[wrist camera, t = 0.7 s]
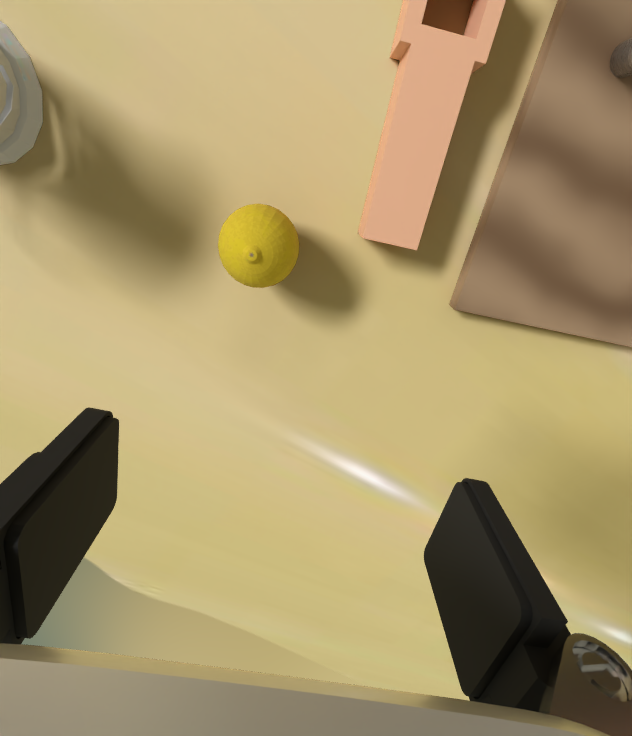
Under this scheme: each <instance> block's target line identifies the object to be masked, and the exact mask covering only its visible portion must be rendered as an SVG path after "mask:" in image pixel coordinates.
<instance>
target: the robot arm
mask: <svg viewBox="0 0 632 736" xmlns="http://www.w3.org/2000/svg"><path fill="white" fill-rule="evenodd" d="M118 441H119V420H118V419H117V418H113V414H112V413H111V412H110V411H104V410H99V409H94V408H86V409H85V410H84V411H83V412H82V413H81V414H79V415H78V416H77V417H76V418H75V419H74V420H73V421H72V422H71V423H70V424H69V425H68V426H67V427H66V428H65V429H64V430H63V431H62V432H61V433H60V434H59V435H58V436H57V437H56V438H55V439H54V440H53V441H52V442H51V443H50V444H49V445H48V446H47V447H46V448H45V449H44V450H43V451H42V452H37V453H34V454H32V455H31V456H30V457H28V458H27V459H26V460H25V461H24V462H23V463H22V464H21V465H20V466H19V467H18V468H17V469H16V470H15V471H14V472H13V473H12V474H11V475H10V476H8V477H7V478H6V479H5V480H4V481H3V482H2V483H1V484H0V736H632V670H631V669H630V667H629V666H628V664H627V663H626V662H625V661H624V660H623V659H622V658H621V657H620V656H619V655H618V654H617V653H616V652H615V651H613V650H612V649H611V648H610V647H608V646H607V645H606V644H604V643H603V642H601V641H599V640H598V639H596V638H594V637H591V636H589V635H586V634H580V633H574V634H572V635H571V634H570V632H569V630H568V629H567V627H566V623H567V622H568V621H567V619H566V617H565V616H564V614H563V612H562V611H561V609H560V607H559V605H558V604H557V602H556V600H555V598H554V597H553V595H552V593H551V592H550V590H549V588H548V586H547V585H546V583H545V581H544V579H543V578H542V576H541V574H540V572H539V571H538V569H537V567H536V566H535V564H534V562H533V560H532V559H531V557H530V555H529V553H528V552H527V550H526V548H525V547H524V545H523V543H522V541H521V540H520V538H519V536H518V534H517V533H516V531H515V529H514V528H513V526H512V524H511V522H510V521H509V519H508V517H507V515H506V514H505V512H504V510H503V509H502V507H501V505H500V503H499V502H498V500H497V498H496V496H495V495H494V493H493V491H492V490H491V488H490V486H489V485H488V483H487V482H484V481H479V480H474V479H468V478H465V479H463V480H462V482H457V483H456V485H455V486H454V488H453V490H452V492H451V495H450V497H449V499H448V501H447V503H446V505H445V507H444V509H443V512H442V514H441V516H440V518H439V520H438V522H437V524H436V526H435V528H434V531H433V533H432V535H431V537H430V539H429V541H428V543H427V545H426V548H425V551H424V562H425V565H426V569H427V572H428V576H429V579H430V583H431V586H432V589H433V593H434V596H435V600H436V603H437V607H438V610H439V614H440V617H441V620H442V624H443V627H444V631H445V634H446V638H447V641H448V645H449V648H450V651H451V655H452V658H453V662H454V665H455V669H456V672H457V676H458V679H459V682H460V686H461V689H462V691H463V693H464V694H465V695H466V696H469V699H470V701H467V700H461V699H454V698H446V697H439V696H432V695H424V694H417V693H410V692H402V691H395V690H388V689H380V688H373V687H366V686H358V685H351V684H343V683H336V682H328V681H320V680H313V679H305V678H298V677H290V676H282V675H274V674H266V673H259V672H252V671H244V670H236V669H229V668H221V667H213V666H204V665H197V664H188V663H180V662H173V661H165V660H157V659H149V658H140V657H132V656H125V655H117V654H108V653H99V652H90V651H81V650H70V649H62V648H53V647H43V646H34V645H22V644H21V643H22V641H23V640H24V638H32V637H33V636H34V635H35V634H36V633H37V631H38V630H39V628H40V627H41V625H42V623H43V622H44V620H45V618H46V616H47V615H48V614H49V612H50V610H51V609H52V607H53V606H54V604H55V602H56V601H57V599H58V597H59V596H60V594H61V593H62V591H63V589H64V588H65V586H66V584H67V583H68V581H69V580H70V578H71V576H72V575H73V573H74V572H75V570H76V568H77V567H78V565H79V564H80V562H81V560H82V559H83V557H84V556H85V554H86V552H87V551H88V549H89V548H90V546H91V544H92V543H93V541H94V539H95V538H96V536H97V535H98V533H99V531H100V530H101V528H102V527H103V525H104V523H105V522H106V520H107V518H108V517H109V515H110V514H111V512H112V510H113V508H114V506H115V503H116V499H117V476H118Z"/></svg>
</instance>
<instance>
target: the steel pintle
mask: <svg viewBox="0 0 632 736" xmlns="http://www.w3.org/2000/svg"><path fill="white" fill-rule="evenodd" d="M610 70H611V72H612V74H613V75H614V76H616V77H618V78H624V77H627V76H630V75H632V38H630V39H628V40H626V41H624V42H622V43H620V44H619V45H618V46H617V47H616V48H615V50H614V51H613V53H612V55H611V58H610Z"/></svg>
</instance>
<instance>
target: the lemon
mask: <svg viewBox="0 0 632 736" xmlns="http://www.w3.org/2000/svg"><path fill="white" fill-rule="evenodd" d="M218 248H219V255H220V258H221V261H222V264H223V266H224V267H225V269H226V270H227V272H228V273H229V274H230V275H231V276H232V277H233V278H234V279H235V280H237V281H238V282H240V283H242V284H244V285H247V286H250V287H259V288H264V287H268V286H272V285H275V284H277V283H279V282H281V281H282V280H283V279H285V278H286V277H287V276H288V275H289V274H290V272H291V271H292V269H293V268H294V266H295V264H296V261H297V258H298V255H299V240H298V235H297V232H296V230H295V228H294V225H293V224H292V222H291V221H290V220H289V218H288V217H287V216H286V215H285V214H283V213H282V212H281V211H280V210H278V209H276V208H274V207H271V206H269V205H263V204H252V205H247V206H244V207H242V208H239V209H238V210H236V211H235V212H234V213H232V214H231V215H230V216H229V217H228V219H227V220H226V221H225V223H224V224H223V226H222V229H221V232H220V234H219V242H218Z"/></svg>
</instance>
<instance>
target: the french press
mask: <svg viewBox="0 0 632 736" xmlns="http://www.w3.org/2000/svg"><path fill="white" fill-rule="evenodd" d="M42 124H43V107H42V90H41V87H40V84H39V81H38V78H37V76H36V73H35V70H34V67H33V64H32V62H31V59H30V57H29V55H28V54H27V53H26V51H25V50H24V48H23V47H22V46H21V44H20V43H19V42H18V40H17V39H16V37H15V36H14V35H13V33H12V32H11V31H10V29H9V28H8V26H6V25H5V24H4V23H2V22H1V21H0V165H3V164H9V163H15V162H16V161H17V160H18V159H19V158H21V157H22V156H23V155H24V154H25V153H27V152H28V151H29V150H30V149H32V148H33V146H34V144H35V141H36V139H37V136H38V134H39V131H40V129H41V126H42Z"/></svg>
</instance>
